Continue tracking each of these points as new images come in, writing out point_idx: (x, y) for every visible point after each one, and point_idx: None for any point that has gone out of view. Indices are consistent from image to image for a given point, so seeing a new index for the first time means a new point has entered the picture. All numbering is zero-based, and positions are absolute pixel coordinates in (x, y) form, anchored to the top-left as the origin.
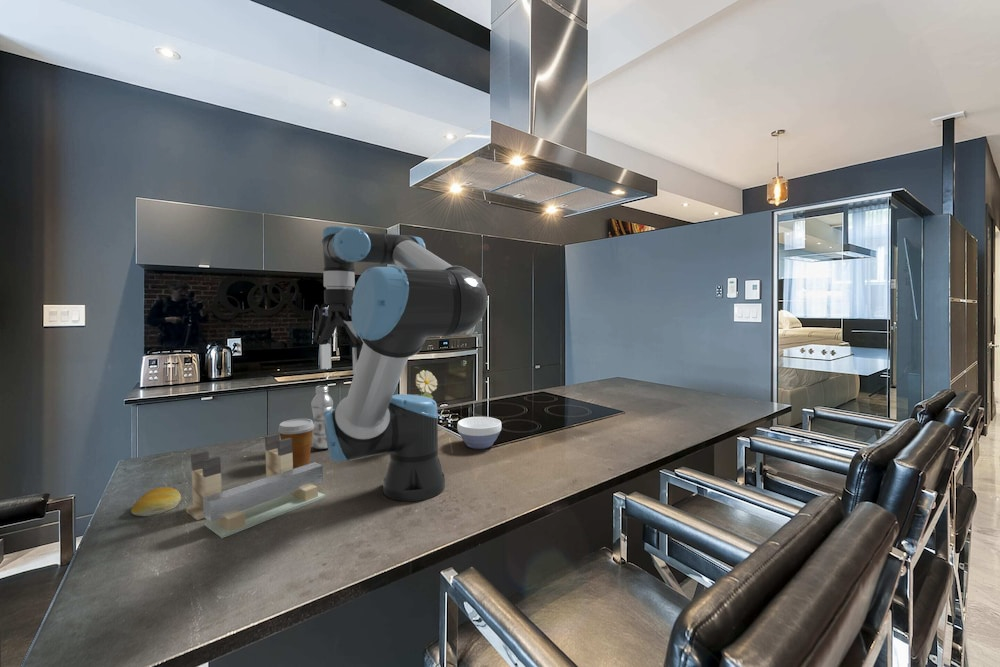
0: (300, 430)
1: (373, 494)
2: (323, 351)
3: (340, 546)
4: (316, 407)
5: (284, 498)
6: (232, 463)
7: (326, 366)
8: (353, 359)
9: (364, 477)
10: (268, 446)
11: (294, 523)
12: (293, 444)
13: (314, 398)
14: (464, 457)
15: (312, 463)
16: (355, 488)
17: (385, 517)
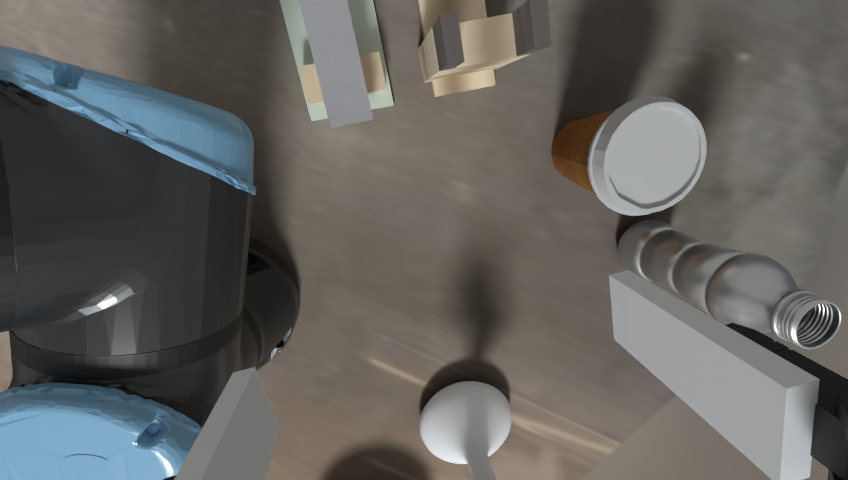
0: (592, 153)
1: (253, 215)
2: (714, 360)
3: (33, 47)
4: (727, 262)
5: (355, 33)
6: (715, 10)
7: (620, 314)
8: (204, 448)
9: (366, 241)
10: (517, 12)
11: (212, 8)
12: (584, 131)
13: (775, 273)
14: (321, 465)
15: (365, 110)
16: (316, 198)
17: None
